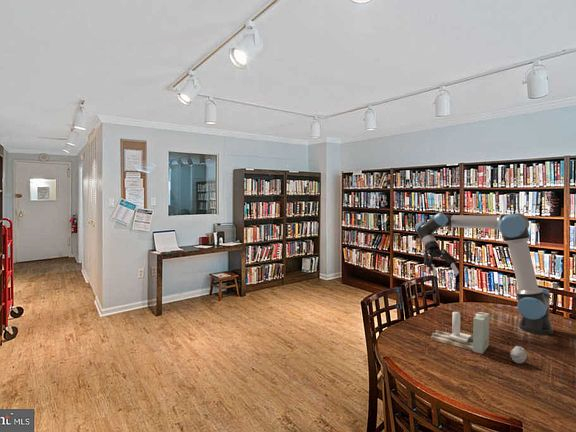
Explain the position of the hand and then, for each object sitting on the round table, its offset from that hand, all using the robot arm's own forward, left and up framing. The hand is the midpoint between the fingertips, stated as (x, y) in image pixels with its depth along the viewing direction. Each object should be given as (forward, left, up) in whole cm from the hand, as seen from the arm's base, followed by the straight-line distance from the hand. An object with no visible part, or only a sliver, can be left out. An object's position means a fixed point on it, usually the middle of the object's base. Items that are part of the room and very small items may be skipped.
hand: (446, 274), depth 193 cm
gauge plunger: (-22, +19, -28) cm, 40 cm away
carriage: (-14, +19, -27) cm, 36 cm away
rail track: (-10, +19, -30) cm, 36 cm away
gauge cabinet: (-22, +19, -30) cm, 41 cm away
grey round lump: (-38, +24, -30) cm, 54 cm away
